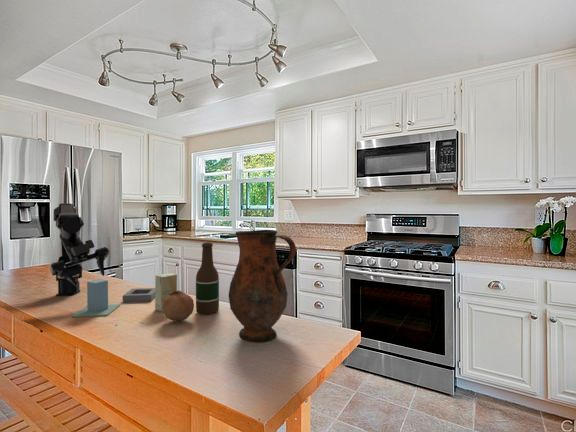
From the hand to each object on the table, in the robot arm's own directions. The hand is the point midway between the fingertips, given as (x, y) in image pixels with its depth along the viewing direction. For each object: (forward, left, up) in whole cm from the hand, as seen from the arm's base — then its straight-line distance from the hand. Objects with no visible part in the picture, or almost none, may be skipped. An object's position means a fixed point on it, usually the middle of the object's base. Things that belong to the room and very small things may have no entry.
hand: (90, 280), depth 118 cm
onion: (+36, -22, -9) cm, 43 cm away
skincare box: (+29, -8, -9) cm, 31 cm away
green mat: (+6, -8, -9) cm, 13 cm away
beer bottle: (+44, -13, -9) cm, 46 cm away
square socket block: (+16, +7, -9) cm, 19 cm away
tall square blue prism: (+6, -8, -9) cm, 13 cm away
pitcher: (+62, -37, -9) cm, 72 cm away
